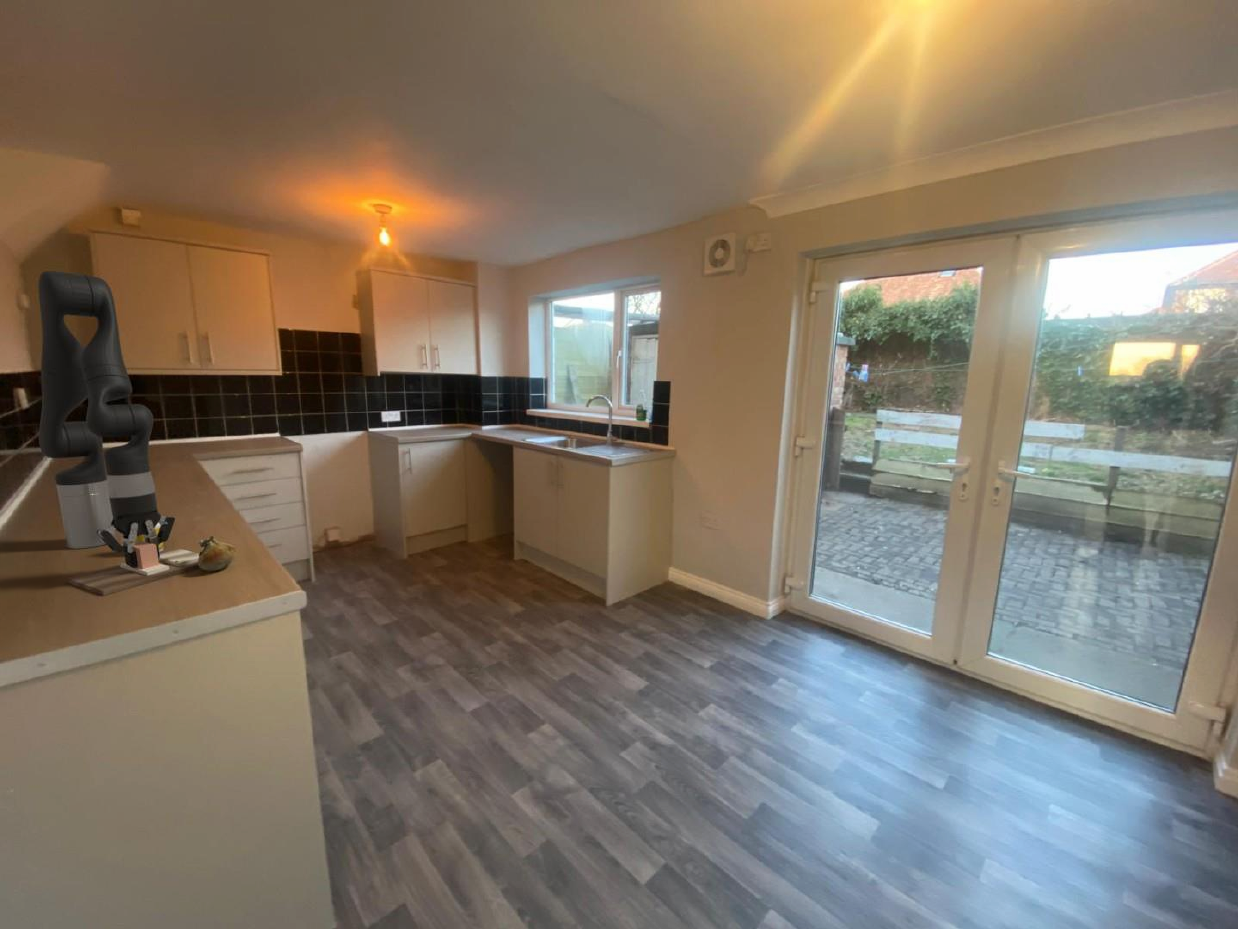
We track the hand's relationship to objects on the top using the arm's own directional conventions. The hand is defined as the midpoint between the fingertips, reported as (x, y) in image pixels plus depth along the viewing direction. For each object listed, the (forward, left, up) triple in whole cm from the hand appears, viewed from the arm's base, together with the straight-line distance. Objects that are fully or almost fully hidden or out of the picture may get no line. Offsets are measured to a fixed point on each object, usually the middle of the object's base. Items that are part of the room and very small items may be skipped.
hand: (143, 563), depth 115 cm
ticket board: (0, 0, -2) cm, 2 cm away
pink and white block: (0, 0, -1) cm, 1 cm away
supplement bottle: (-16, +8, -2) cm, 18 cm away
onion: (+13, +8, -2) cm, 16 cm away
